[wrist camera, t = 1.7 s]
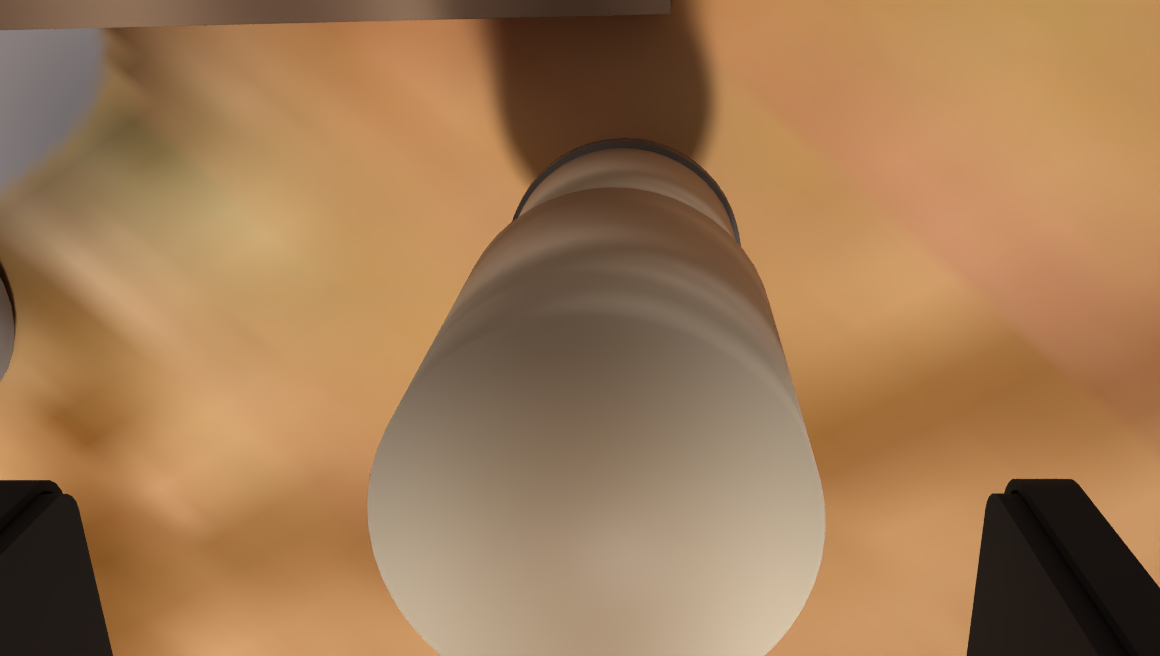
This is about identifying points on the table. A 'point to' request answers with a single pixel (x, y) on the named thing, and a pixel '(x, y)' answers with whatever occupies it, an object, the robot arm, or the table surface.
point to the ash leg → (603, 433)
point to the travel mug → (5, 330)
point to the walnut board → (294, 11)
